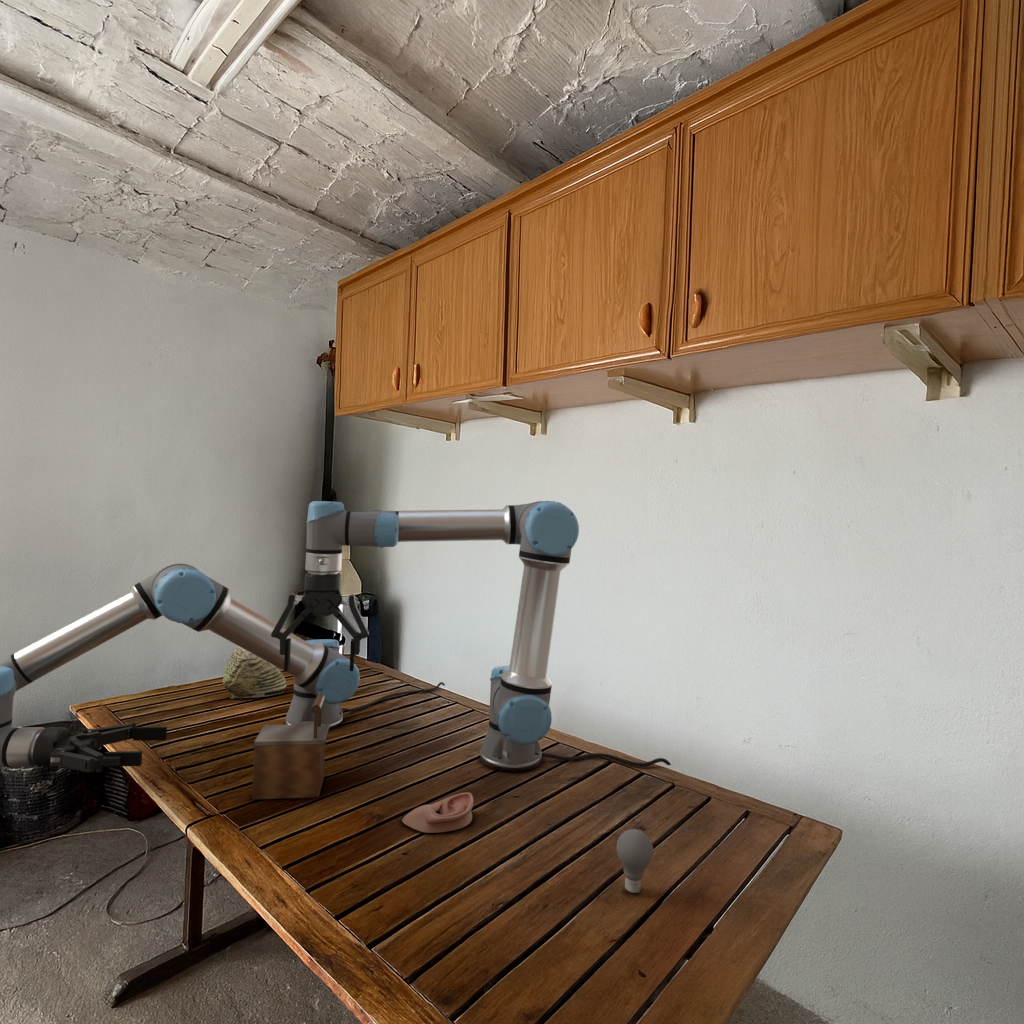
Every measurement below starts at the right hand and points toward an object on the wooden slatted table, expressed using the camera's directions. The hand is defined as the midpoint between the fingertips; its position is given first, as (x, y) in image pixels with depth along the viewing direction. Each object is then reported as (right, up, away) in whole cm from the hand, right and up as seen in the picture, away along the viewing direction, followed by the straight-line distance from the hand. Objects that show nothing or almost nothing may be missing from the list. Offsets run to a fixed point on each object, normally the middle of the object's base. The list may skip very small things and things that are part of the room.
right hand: (319, 669), depth 138 cm
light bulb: (+62, -29, -32) cm, 76 cm away
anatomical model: (+27, -27, -11) cm, 40 cm away
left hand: (-33, -14, -5) cm, 36 cm away
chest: (-6, -26, 0) cm, 26 cm away
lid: (-5, -14, -1) cm, 15 cm away
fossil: (-39, -23, +60) cm, 75 cm away
